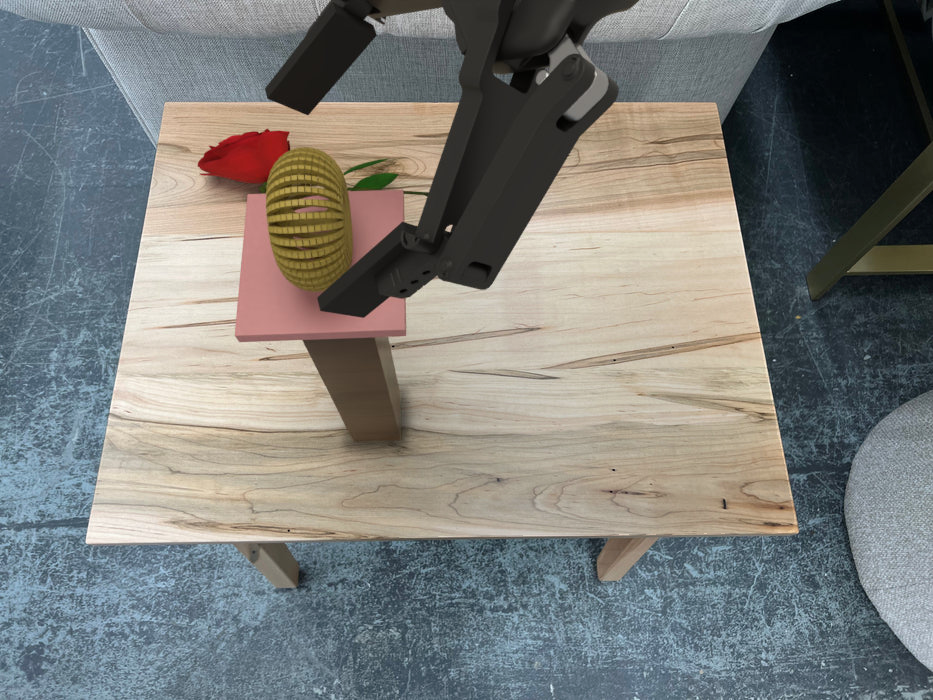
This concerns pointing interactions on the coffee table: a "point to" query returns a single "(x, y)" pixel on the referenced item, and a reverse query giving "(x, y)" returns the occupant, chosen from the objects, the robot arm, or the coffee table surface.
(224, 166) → the flower
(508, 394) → the coffee table surface
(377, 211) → the rose shelf
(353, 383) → the stand post
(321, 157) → the sculpture
